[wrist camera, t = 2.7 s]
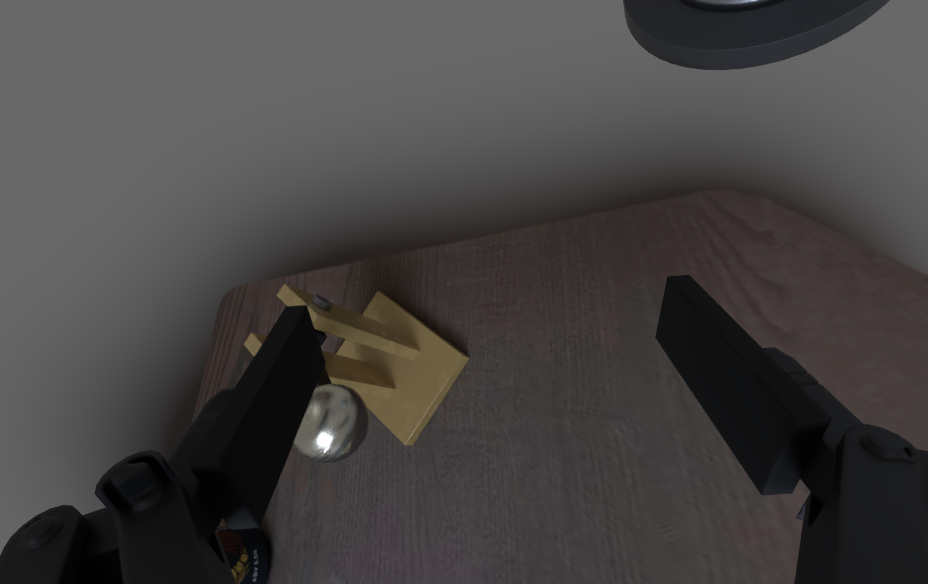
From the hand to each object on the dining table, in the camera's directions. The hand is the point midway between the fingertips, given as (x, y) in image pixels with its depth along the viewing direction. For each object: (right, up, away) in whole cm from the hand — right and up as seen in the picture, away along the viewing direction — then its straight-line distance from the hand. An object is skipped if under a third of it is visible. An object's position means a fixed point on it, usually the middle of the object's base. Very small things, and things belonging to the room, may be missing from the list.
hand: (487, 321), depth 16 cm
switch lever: (-8, -4, +10) cm, 14 cm away
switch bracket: (-7, -6, +24) cm, 25 cm away
